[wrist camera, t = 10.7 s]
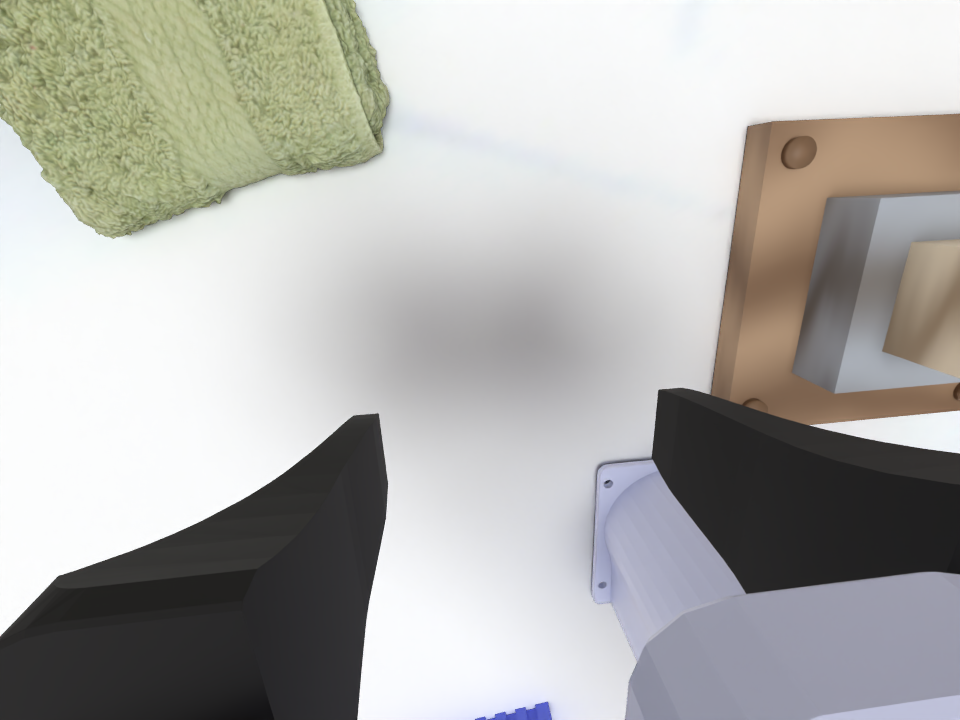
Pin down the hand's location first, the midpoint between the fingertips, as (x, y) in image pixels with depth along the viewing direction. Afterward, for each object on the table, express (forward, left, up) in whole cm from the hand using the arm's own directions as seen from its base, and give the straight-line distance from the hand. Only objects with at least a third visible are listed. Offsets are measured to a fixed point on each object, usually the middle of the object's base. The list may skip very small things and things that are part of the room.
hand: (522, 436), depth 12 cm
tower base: (+1, -19, -10) cm, 22 cm away
